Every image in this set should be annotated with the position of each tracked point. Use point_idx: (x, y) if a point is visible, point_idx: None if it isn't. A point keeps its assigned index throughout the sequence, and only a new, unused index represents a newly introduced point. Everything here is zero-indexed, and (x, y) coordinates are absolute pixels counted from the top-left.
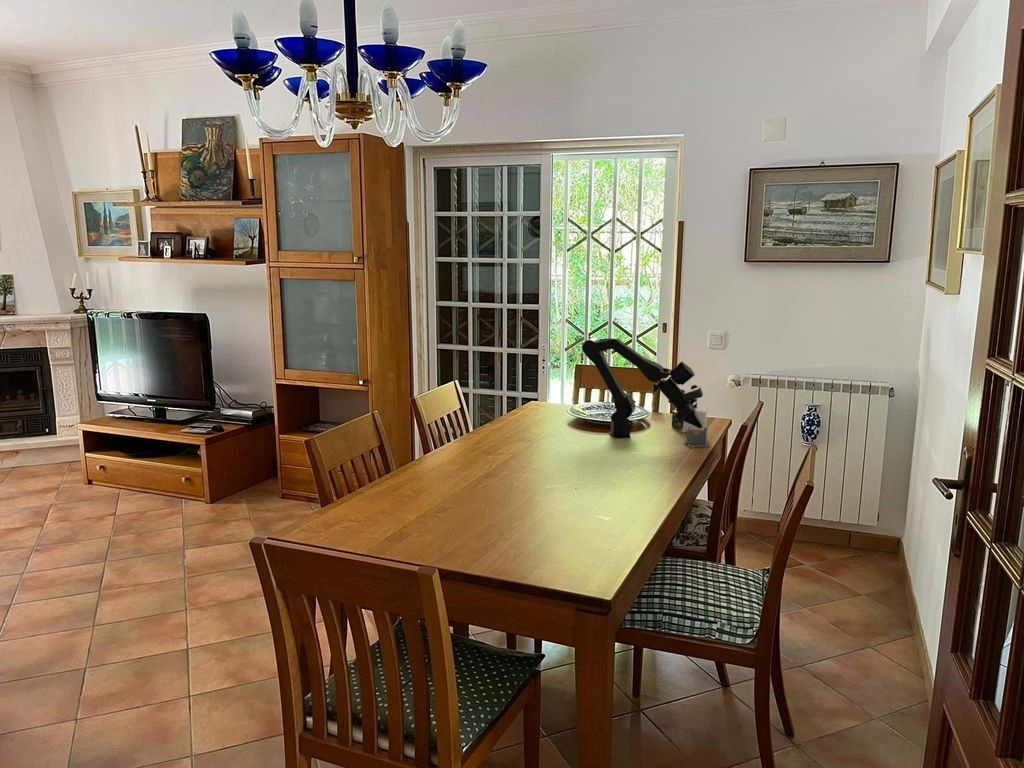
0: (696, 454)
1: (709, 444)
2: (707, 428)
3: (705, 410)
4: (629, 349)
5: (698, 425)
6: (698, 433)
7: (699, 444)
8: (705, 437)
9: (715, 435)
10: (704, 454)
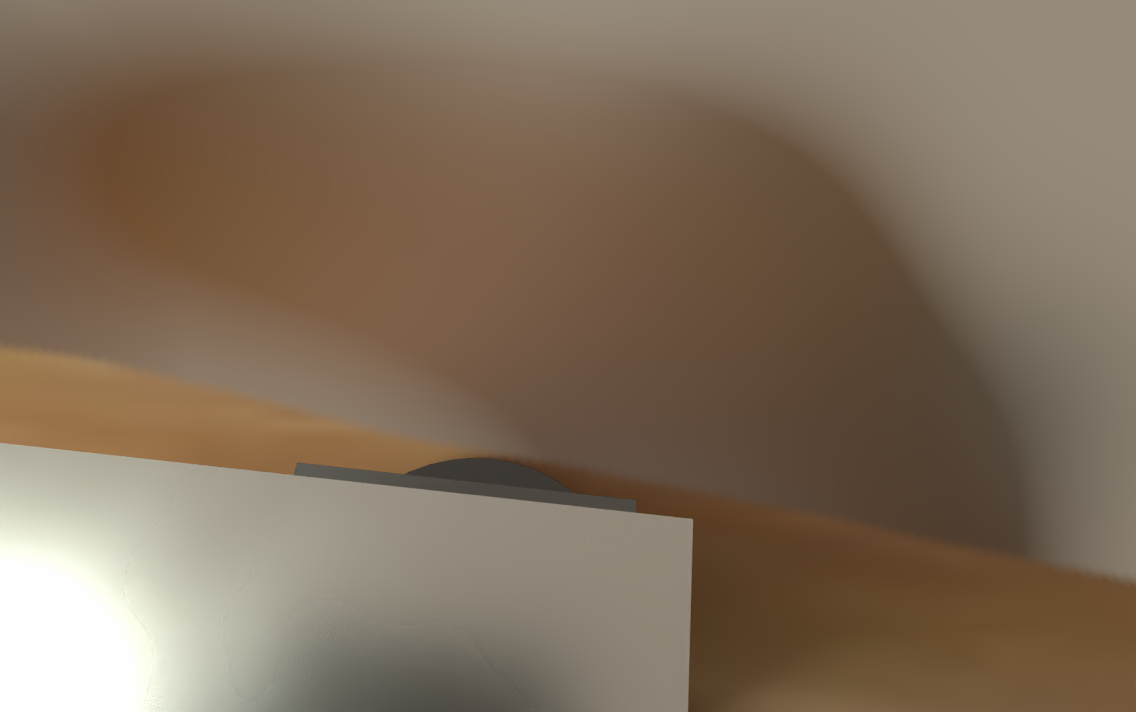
0: (914, 626)
1: (499, 461)
2: (373, 475)
3: (331, 530)
4: None
5: None
6: None
7: None
8: None
9: (7, 378)
10: (869, 527)
